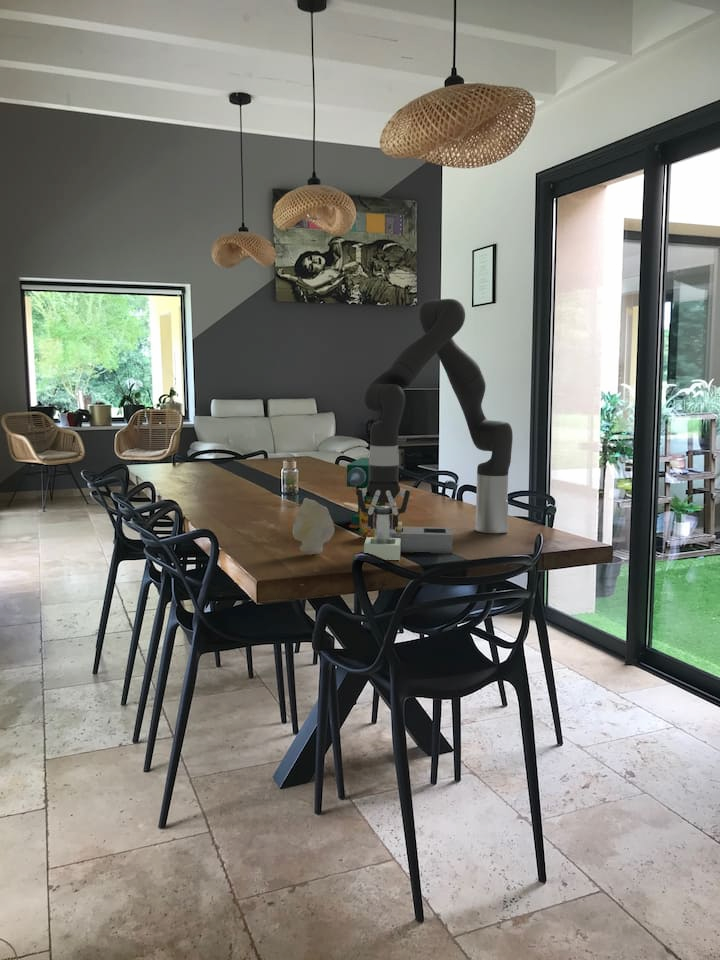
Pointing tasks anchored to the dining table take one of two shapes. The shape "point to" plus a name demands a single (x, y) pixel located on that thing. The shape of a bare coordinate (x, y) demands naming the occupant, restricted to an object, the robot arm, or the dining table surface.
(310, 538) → the stone tool
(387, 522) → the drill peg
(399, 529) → the wooden block
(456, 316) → the robot arm
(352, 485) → the power tool
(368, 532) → the crayon box
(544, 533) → the dining table surface
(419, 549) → the socket block
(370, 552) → the hollow square frame block
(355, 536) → the dining table surface
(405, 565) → the dining table surface
